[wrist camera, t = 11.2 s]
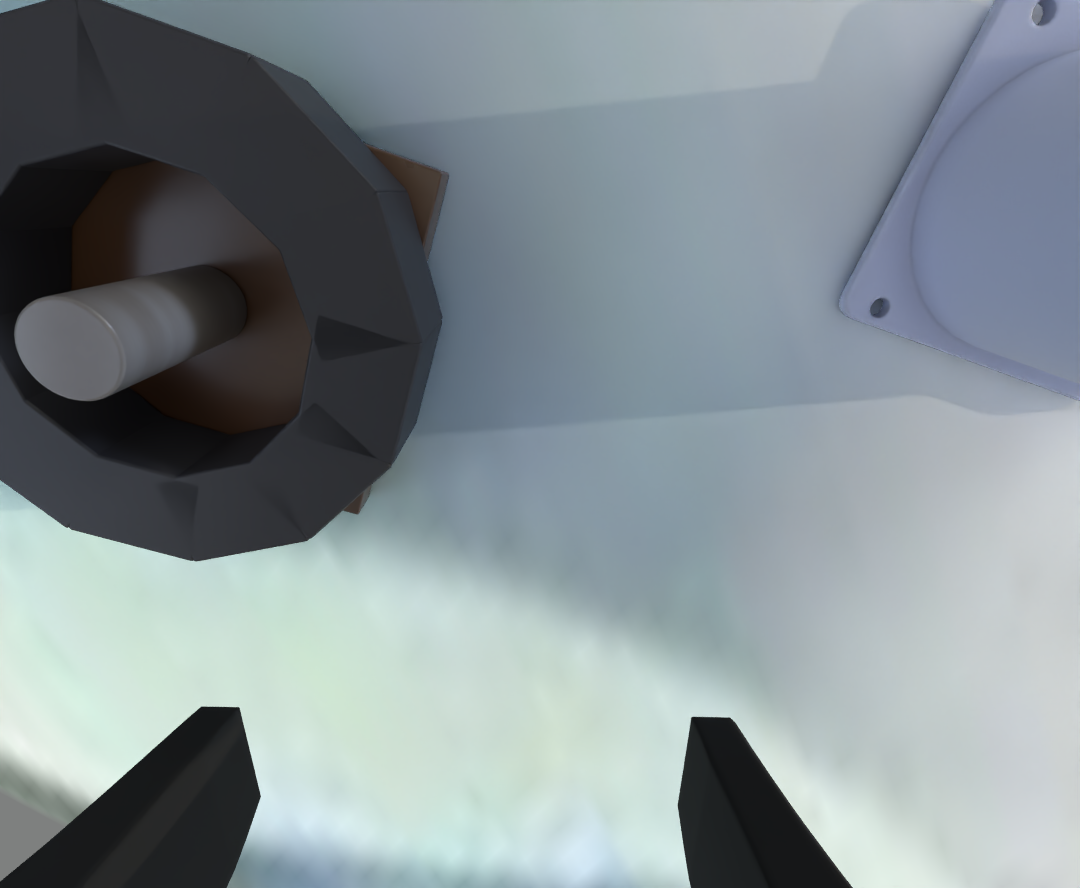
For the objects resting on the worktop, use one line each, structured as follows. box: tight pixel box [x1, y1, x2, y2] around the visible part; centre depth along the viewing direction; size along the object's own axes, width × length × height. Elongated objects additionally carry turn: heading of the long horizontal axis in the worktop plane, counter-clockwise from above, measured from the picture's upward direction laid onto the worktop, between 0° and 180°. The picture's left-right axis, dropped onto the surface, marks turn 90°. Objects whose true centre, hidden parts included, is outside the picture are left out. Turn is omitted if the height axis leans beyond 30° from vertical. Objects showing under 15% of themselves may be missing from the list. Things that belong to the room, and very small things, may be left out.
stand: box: [14, 143, 449, 514], centre depth 14 cm, size 10×10×6 cm
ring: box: [0, 0, 442, 561], centre depth 14 cm, size 12×12×3 cm
